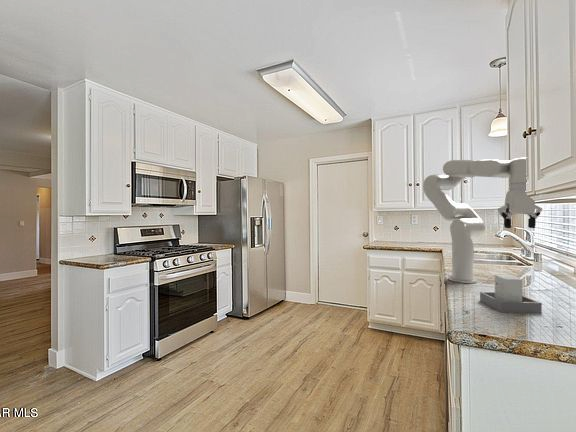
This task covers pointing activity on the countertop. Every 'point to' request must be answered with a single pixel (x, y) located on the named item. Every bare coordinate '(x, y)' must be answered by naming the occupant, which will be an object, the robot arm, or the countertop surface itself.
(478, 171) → the robot arm
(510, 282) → the small box
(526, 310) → the tray
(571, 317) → the countertop surface
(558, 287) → the countertop surface
